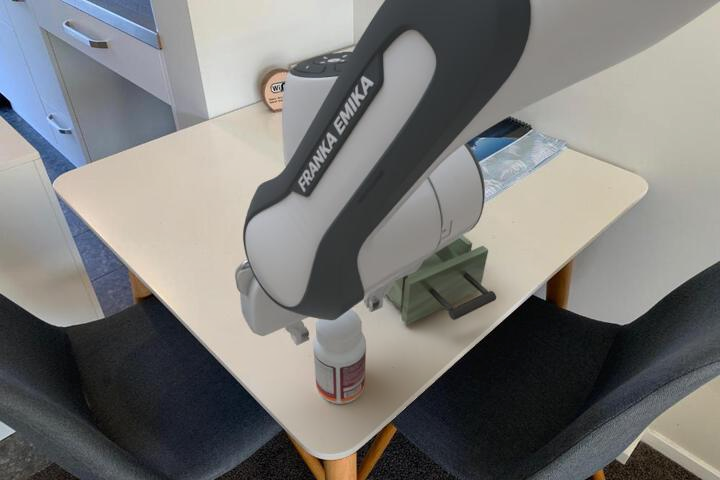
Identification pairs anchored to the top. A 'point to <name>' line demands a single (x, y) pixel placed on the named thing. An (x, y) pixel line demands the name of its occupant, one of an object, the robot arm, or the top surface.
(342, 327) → the pill bottle
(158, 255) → the top surface
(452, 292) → the drawer
